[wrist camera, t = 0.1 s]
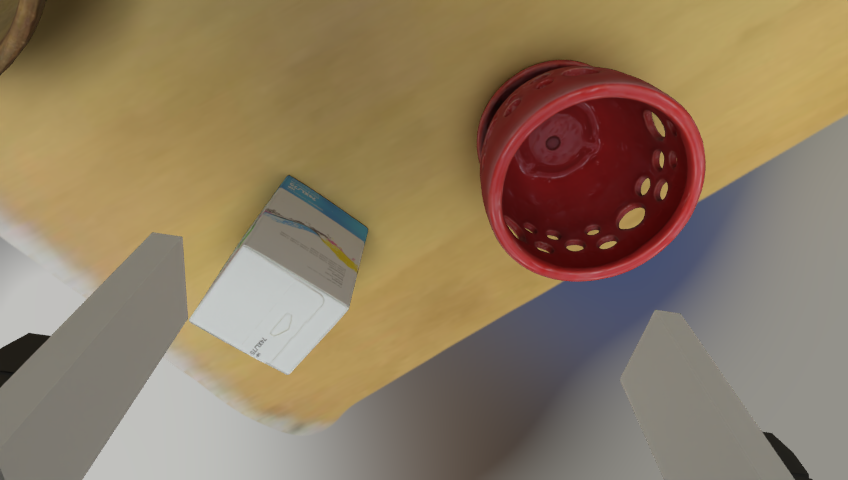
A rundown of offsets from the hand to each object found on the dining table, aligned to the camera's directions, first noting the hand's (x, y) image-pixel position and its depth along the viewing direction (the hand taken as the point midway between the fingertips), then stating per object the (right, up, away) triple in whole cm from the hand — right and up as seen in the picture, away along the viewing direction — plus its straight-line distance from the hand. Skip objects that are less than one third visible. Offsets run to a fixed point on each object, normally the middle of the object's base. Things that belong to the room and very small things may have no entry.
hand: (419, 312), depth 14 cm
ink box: (-11, +3, +31) cm, 33 cm away
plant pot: (+10, +11, +26) cm, 30 cm away
